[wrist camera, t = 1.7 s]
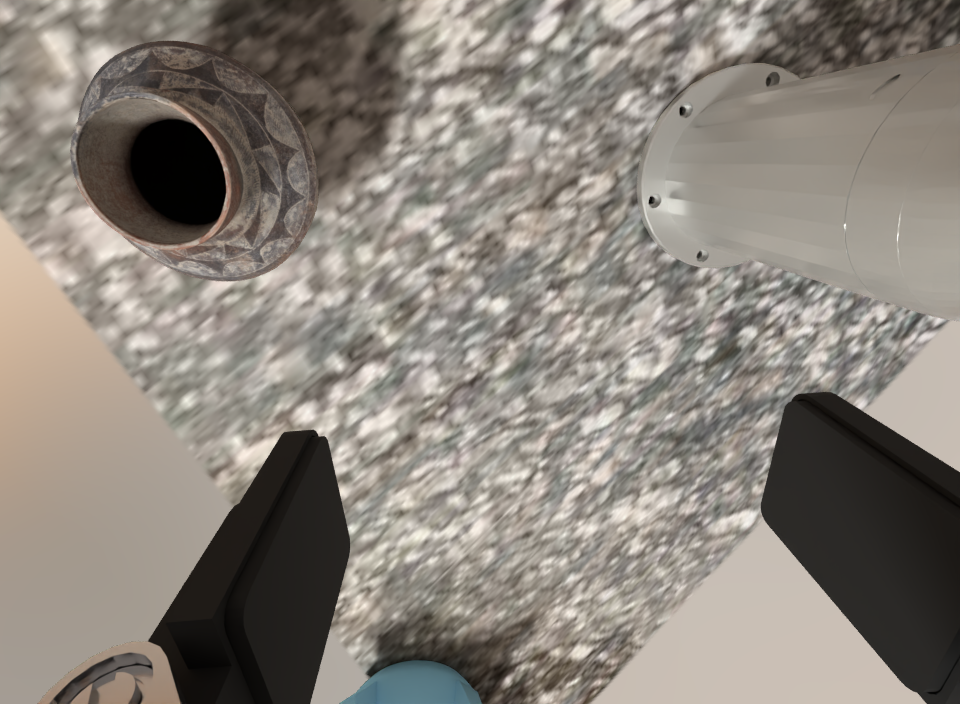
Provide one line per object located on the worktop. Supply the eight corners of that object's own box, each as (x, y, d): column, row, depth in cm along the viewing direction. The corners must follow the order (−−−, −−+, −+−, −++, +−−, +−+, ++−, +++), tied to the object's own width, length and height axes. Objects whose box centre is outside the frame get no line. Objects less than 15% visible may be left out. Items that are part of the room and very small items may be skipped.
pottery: (432, -168, 23) (425, -459, 12) (318, 281, 32) (253, 345, 21) (199, -299, 21) (-65, -804, 10) (142, 224, 29) (-34, 261, 18)
